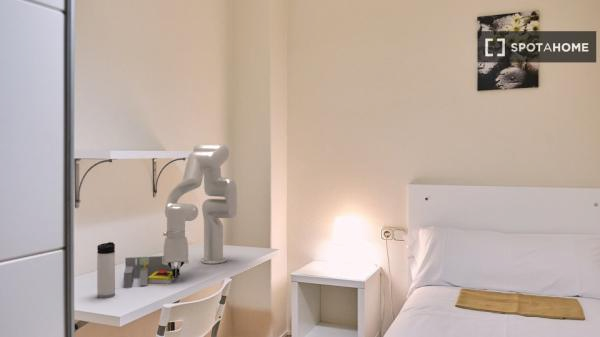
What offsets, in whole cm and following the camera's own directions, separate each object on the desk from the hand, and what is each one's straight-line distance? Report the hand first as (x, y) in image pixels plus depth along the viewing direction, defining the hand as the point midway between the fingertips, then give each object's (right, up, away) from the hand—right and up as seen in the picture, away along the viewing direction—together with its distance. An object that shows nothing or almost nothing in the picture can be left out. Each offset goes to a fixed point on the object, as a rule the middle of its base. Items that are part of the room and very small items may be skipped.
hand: (175, 277), depth 210 cm
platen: (-12, -2, -3) cm, 13 cm away
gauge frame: (-11, -2, 0) cm, 11 cm away
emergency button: (-6, -2, +1) cm, 7 cm away
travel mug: (-21, -2, -22) cm, 30 cm away
